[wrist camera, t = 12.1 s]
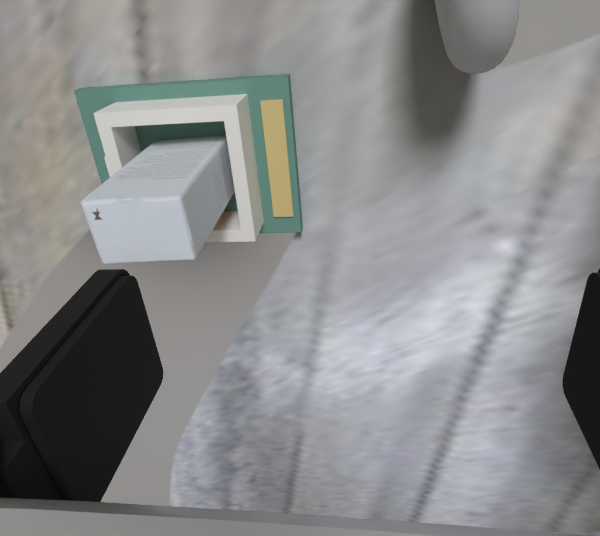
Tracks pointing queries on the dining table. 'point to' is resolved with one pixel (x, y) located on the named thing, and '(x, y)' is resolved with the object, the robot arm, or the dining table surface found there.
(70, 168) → the dining table surface
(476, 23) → the donut
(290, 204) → the board
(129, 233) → the skincare box
